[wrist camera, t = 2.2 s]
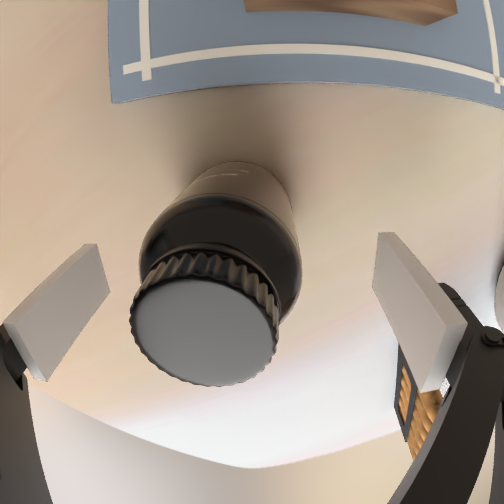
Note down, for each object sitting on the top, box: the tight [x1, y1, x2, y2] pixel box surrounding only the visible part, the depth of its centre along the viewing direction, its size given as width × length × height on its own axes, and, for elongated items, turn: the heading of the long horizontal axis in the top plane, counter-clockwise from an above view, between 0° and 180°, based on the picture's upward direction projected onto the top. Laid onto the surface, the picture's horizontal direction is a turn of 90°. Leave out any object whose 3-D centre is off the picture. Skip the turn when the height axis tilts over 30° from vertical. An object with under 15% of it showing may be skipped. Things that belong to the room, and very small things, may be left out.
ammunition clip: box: [394, 344, 443, 461], centre depth 21 cm, size 11×2×12 cm, turn 15°
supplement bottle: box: [129, 161, 302, 387], centre depth 15 cm, size 7×7×12 cm
